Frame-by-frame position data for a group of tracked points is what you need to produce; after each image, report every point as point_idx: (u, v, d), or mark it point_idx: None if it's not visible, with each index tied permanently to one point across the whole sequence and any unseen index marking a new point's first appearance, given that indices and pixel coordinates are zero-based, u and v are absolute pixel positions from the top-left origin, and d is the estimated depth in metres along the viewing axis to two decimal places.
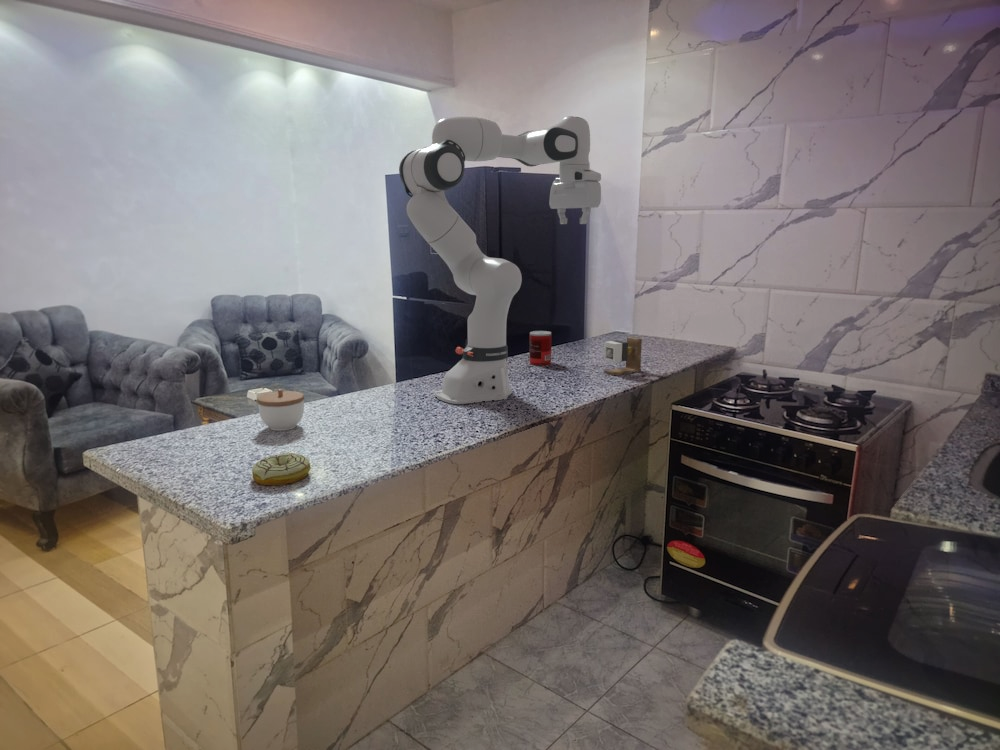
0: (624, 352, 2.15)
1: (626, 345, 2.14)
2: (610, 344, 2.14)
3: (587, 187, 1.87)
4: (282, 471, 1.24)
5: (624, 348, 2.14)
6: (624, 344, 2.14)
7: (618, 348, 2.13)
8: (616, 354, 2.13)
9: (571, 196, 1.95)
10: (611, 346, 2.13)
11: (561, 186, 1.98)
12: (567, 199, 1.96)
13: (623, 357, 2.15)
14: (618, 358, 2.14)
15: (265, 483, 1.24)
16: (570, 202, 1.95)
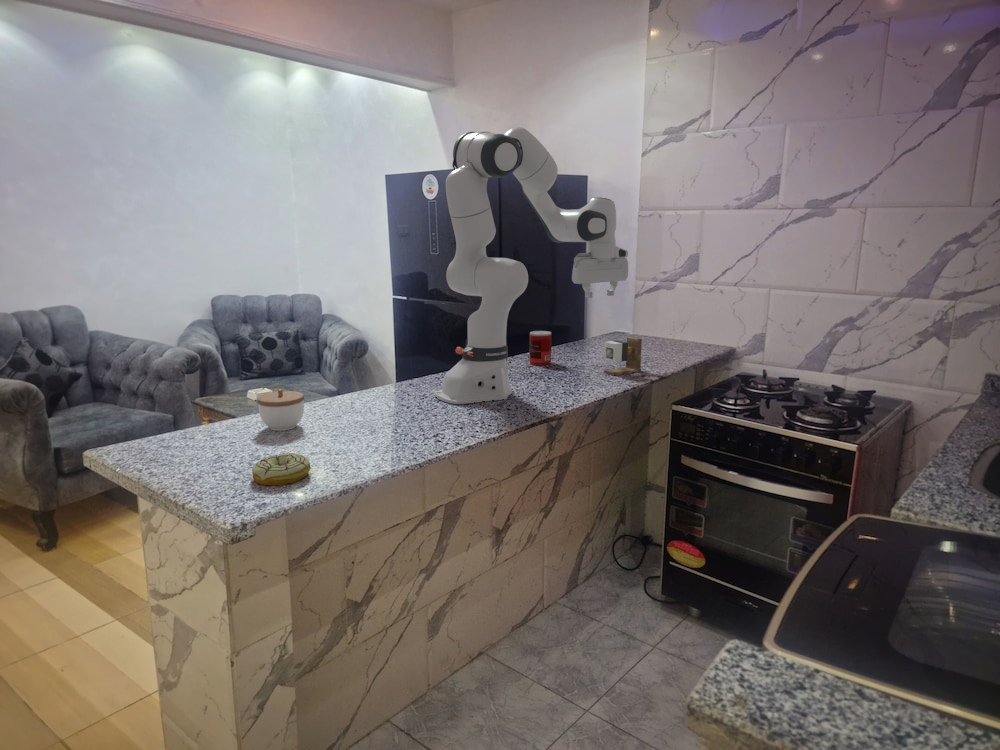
0: (624, 352, 2.15)
1: (626, 345, 2.14)
2: (610, 344, 2.14)
3: (627, 263, 2.08)
4: (282, 471, 1.24)
5: (624, 348, 2.14)
6: (624, 344, 2.14)
7: (618, 348, 2.13)
8: (616, 354, 2.13)
9: (607, 271, 2.05)
10: (611, 346, 2.13)
11: (595, 262, 2.02)
12: (602, 274, 2.04)
13: (623, 357, 2.15)
14: (618, 358, 2.14)
15: (265, 483, 1.24)
16: (605, 277, 2.05)
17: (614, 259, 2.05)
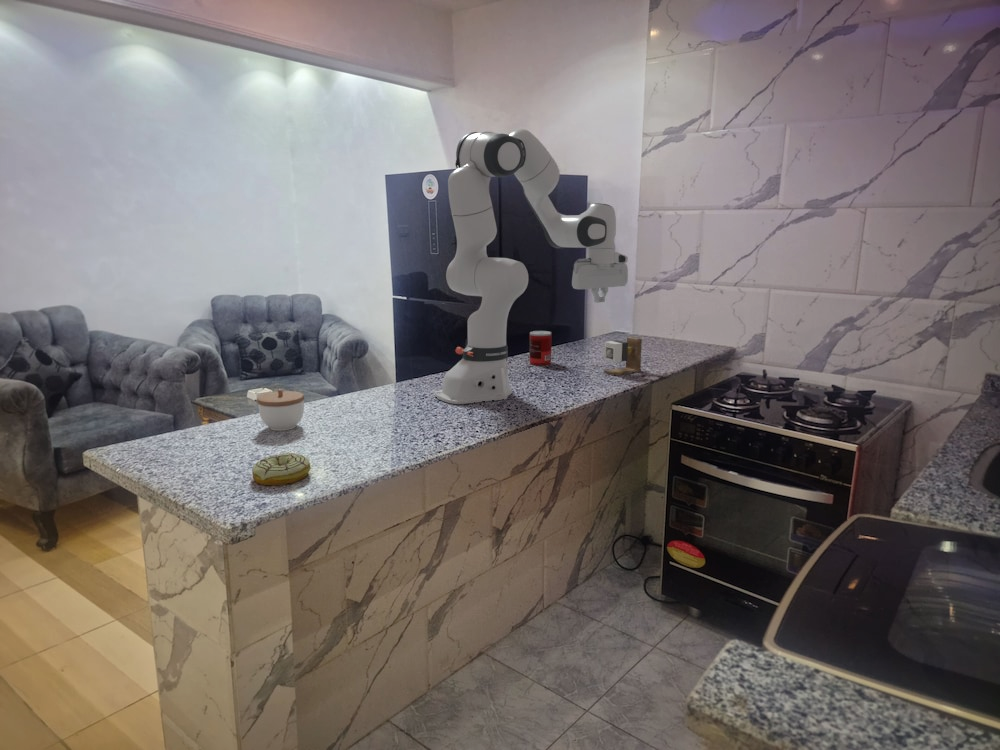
0: (624, 352, 2.15)
1: (626, 345, 2.14)
2: (610, 344, 2.14)
3: (626, 268, 2.09)
4: (282, 471, 1.24)
5: (624, 348, 2.14)
6: (624, 344, 2.14)
7: (618, 348, 2.13)
8: (616, 354, 2.13)
9: (606, 276, 2.06)
10: (611, 346, 2.13)
11: (594, 267, 2.02)
12: (602, 279, 2.05)
13: (623, 357, 2.15)
14: (618, 358, 2.14)
15: (265, 483, 1.24)
16: (605, 282, 2.06)
17: (614, 265, 2.05)
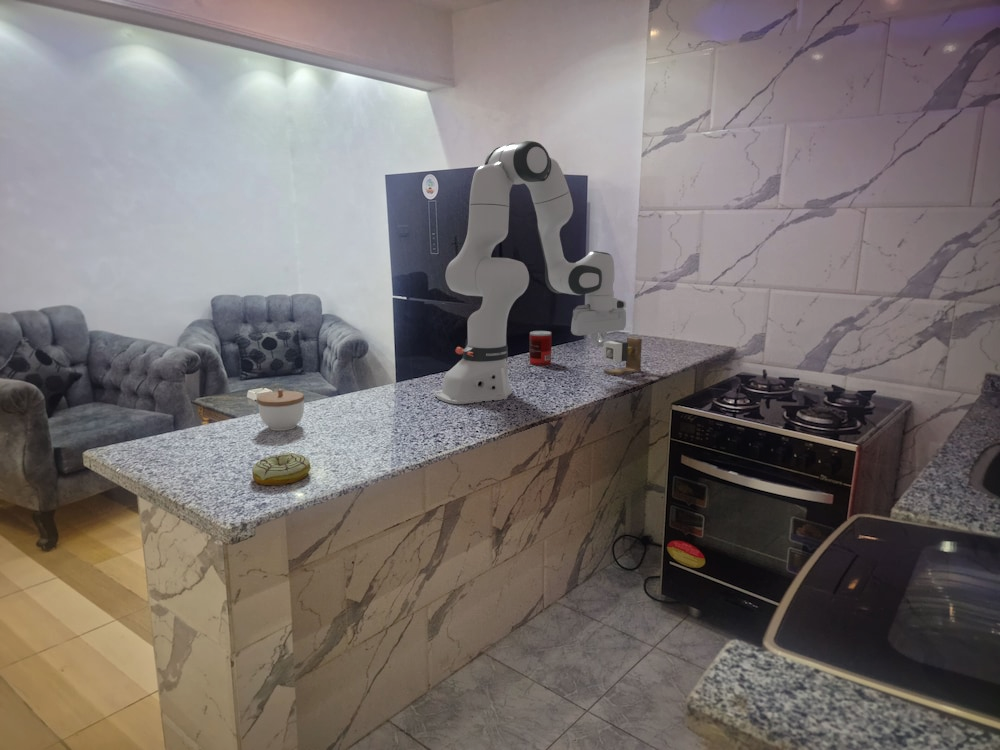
0: (624, 352, 2.15)
1: (626, 345, 2.14)
2: (610, 344, 2.14)
3: (625, 313, 2.12)
4: (282, 471, 1.24)
5: (624, 348, 2.14)
6: (624, 344, 2.14)
7: (618, 348, 2.13)
8: (616, 354, 2.13)
9: (605, 322, 2.09)
10: (611, 346, 2.13)
11: (593, 314, 2.06)
12: (600, 325, 2.08)
13: (623, 357, 2.15)
14: (618, 358, 2.14)
15: (265, 483, 1.24)
16: (604, 327, 2.09)
17: (612, 310, 2.09)
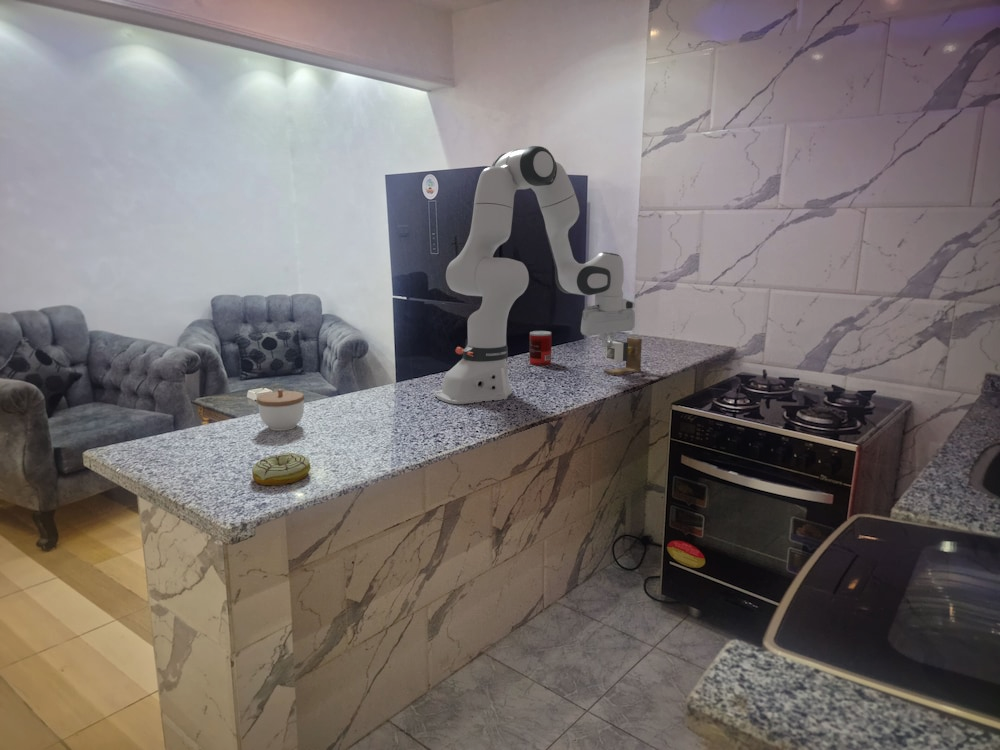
0: (624, 352, 2.15)
1: (626, 345, 2.14)
2: None
3: (633, 314, 2.14)
4: (282, 471, 1.24)
5: (624, 348, 2.14)
6: (624, 344, 2.14)
7: (619, 348, 2.13)
8: (618, 354, 2.13)
9: (614, 322, 2.11)
10: (612, 346, 2.14)
11: (603, 314, 2.08)
12: (610, 325, 2.10)
13: (623, 357, 2.15)
14: (619, 358, 2.14)
15: (265, 483, 1.24)
16: (613, 328, 2.11)
17: (621, 311, 2.11)
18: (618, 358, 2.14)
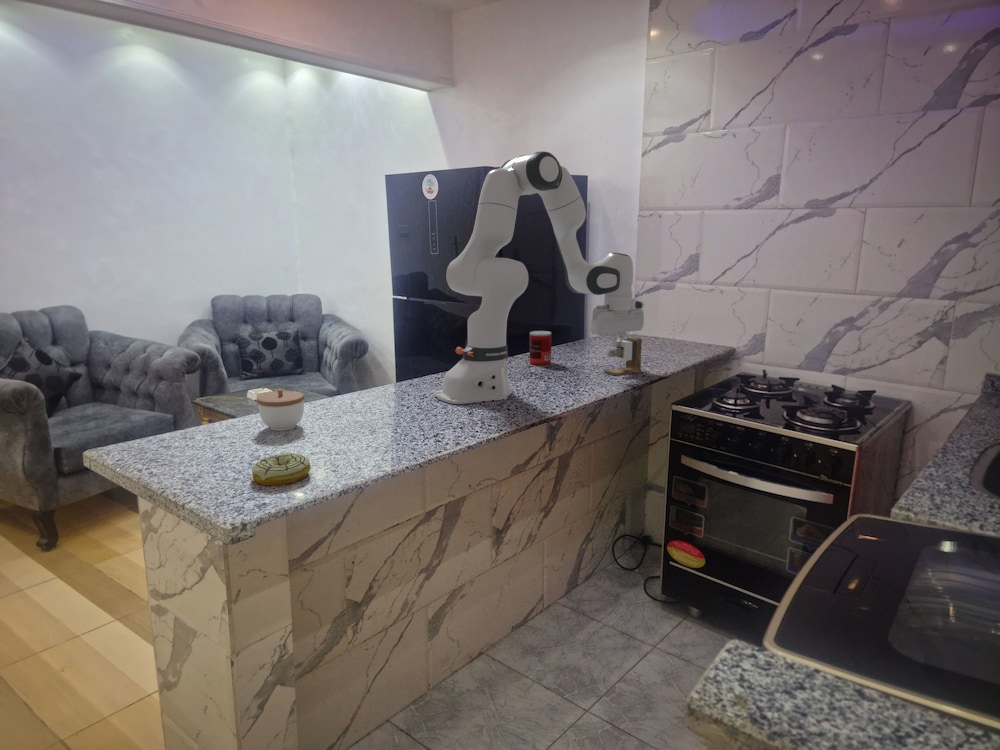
0: (633, 351, 2.17)
1: (635, 344, 2.17)
2: None
3: (643, 314, 2.16)
4: (282, 471, 1.24)
5: (633, 346, 2.16)
6: (633, 343, 2.16)
7: (628, 347, 2.15)
8: (627, 353, 2.15)
9: (623, 322, 2.13)
10: (621, 345, 2.16)
11: (612, 314, 2.10)
12: (619, 325, 2.12)
13: (632, 356, 2.17)
14: (628, 357, 2.16)
15: (265, 483, 1.24)
16: (622, 327, 2.13)
17: (631, 311, 2.13)
18: (627, 357, 2.16)
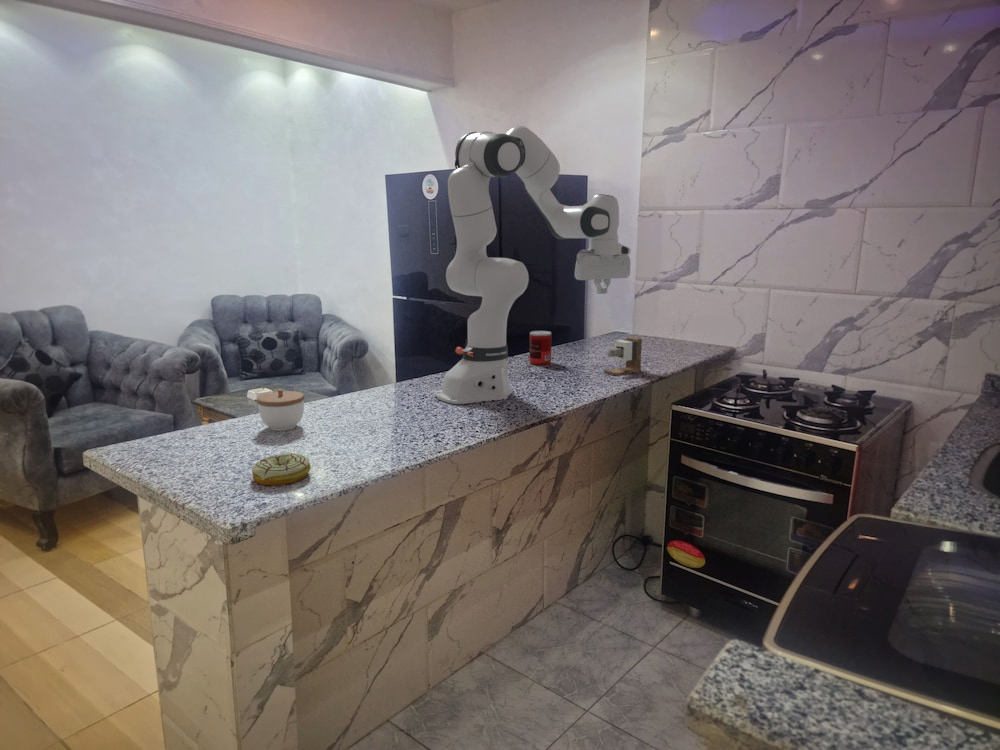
0: (633, 351, 2.17)
1: (635, 344, 2.17)
2: (620, 343, 2.16)
3: (629, 260, 2.09)
4: (282, 471, 1.24)
5: (633, 346, 2.16)
6: (633, 343, 2.16)
7: (628, 347, 2.15)
8: (627, 353, 2.15)
9: (609, 268, 2.06)
10: (621, 345, 2.16)
11: (597, 258, 2.02)
12: (604, 271, 2.05)
13: (632, 356, 2.17)
14: (628, 357, 2.16)
15: (265, 483, 1.24)
16: (608, 273, 2.06)
17: (616, 256, 2.05)
18: (627, 357, 2.16)
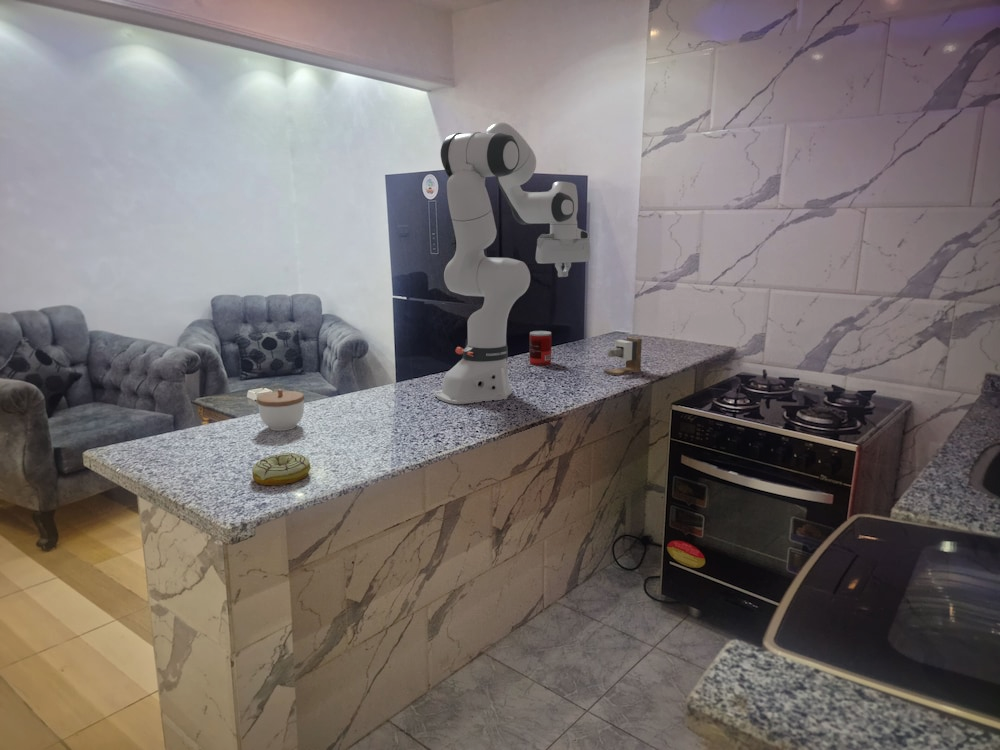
0: (633, 351, 2.17)
1: (635, 344, 2.17)
2: (620, 343, 2.16)
3: (589, 245, 2.18)
4: (282, 471, 1.24)
5: (633, 346, 2.16)
6: (633, 343, 2.16)
7: (628, 347, 2.15)
8: (627, 353, 2.15)
9: (569, 251, 2.15)
10: (621, 345, 2.16)
11: (557, 243, 2.11)
12: (564, 254, 2.14)
13: (632, 356, 2.17)
14: (628, 357, 2.16)
15: (265, 483, 1.24)
16: (568, 257, 2.15)
17: (576, 240, 2.14)
18: (627, 357, 2.16)
